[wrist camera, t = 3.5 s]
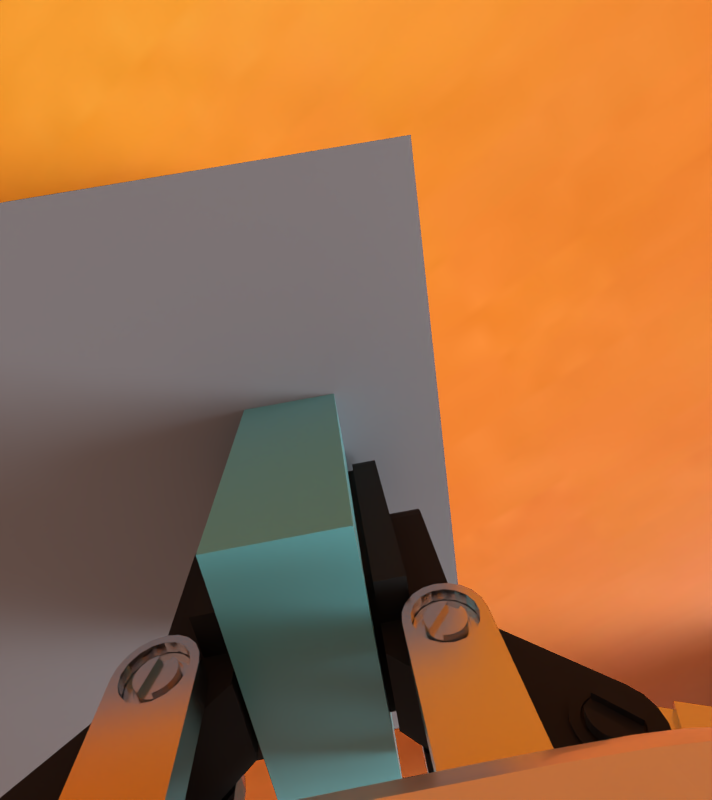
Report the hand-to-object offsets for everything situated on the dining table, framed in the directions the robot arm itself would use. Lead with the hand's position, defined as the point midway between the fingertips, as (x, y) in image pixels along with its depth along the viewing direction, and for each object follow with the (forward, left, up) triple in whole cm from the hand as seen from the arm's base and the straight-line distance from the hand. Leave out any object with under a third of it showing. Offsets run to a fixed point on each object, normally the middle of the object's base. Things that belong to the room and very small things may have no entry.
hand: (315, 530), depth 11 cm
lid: (0, +7, -3) cm, 7 cm away
